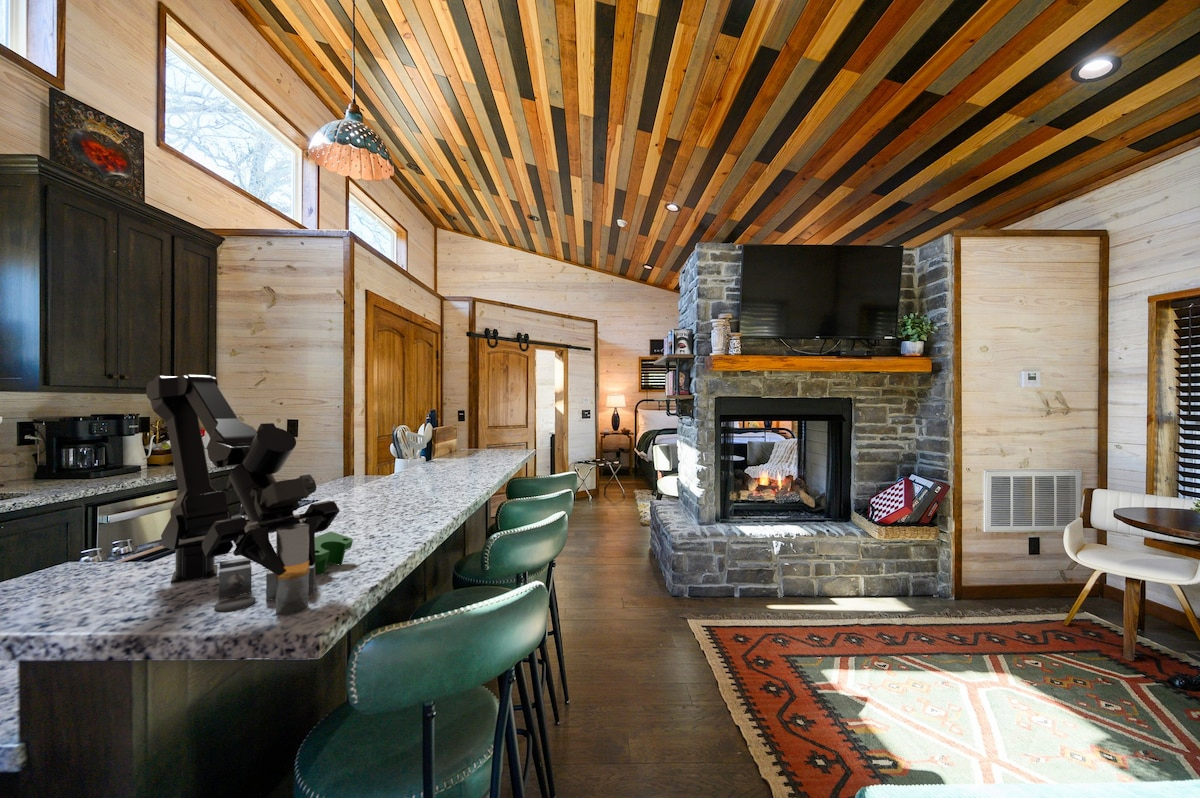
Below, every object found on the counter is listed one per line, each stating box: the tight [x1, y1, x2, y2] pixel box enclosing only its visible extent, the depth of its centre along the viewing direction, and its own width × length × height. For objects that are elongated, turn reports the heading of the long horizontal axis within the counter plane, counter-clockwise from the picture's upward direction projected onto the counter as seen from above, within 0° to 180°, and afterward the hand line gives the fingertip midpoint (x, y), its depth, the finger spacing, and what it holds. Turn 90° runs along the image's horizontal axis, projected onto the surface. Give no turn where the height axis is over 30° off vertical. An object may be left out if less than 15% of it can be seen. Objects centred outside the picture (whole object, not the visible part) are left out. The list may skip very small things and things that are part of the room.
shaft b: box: [265, 562, 317, 601], centre depth 84 cm, size 7×4×4 cm, turn 117°
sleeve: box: [275, 524, 310, 616], centre depth 78 cm, size 5×5×13 cm
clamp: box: [315, 531, 354, 575], centre depth 97 cm, size 12×6×9 cm, turn 166°
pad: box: [213, 595, 257, 613], centre depth 79 cm, size 5×5×1 cm
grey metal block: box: [218, 557, 252, 600], centre depth 86 cm, size 7×4×4 cm, turn 37°
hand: (297, 568), depth 77 cm, fingers closed on sleeve, 5 cm apart
